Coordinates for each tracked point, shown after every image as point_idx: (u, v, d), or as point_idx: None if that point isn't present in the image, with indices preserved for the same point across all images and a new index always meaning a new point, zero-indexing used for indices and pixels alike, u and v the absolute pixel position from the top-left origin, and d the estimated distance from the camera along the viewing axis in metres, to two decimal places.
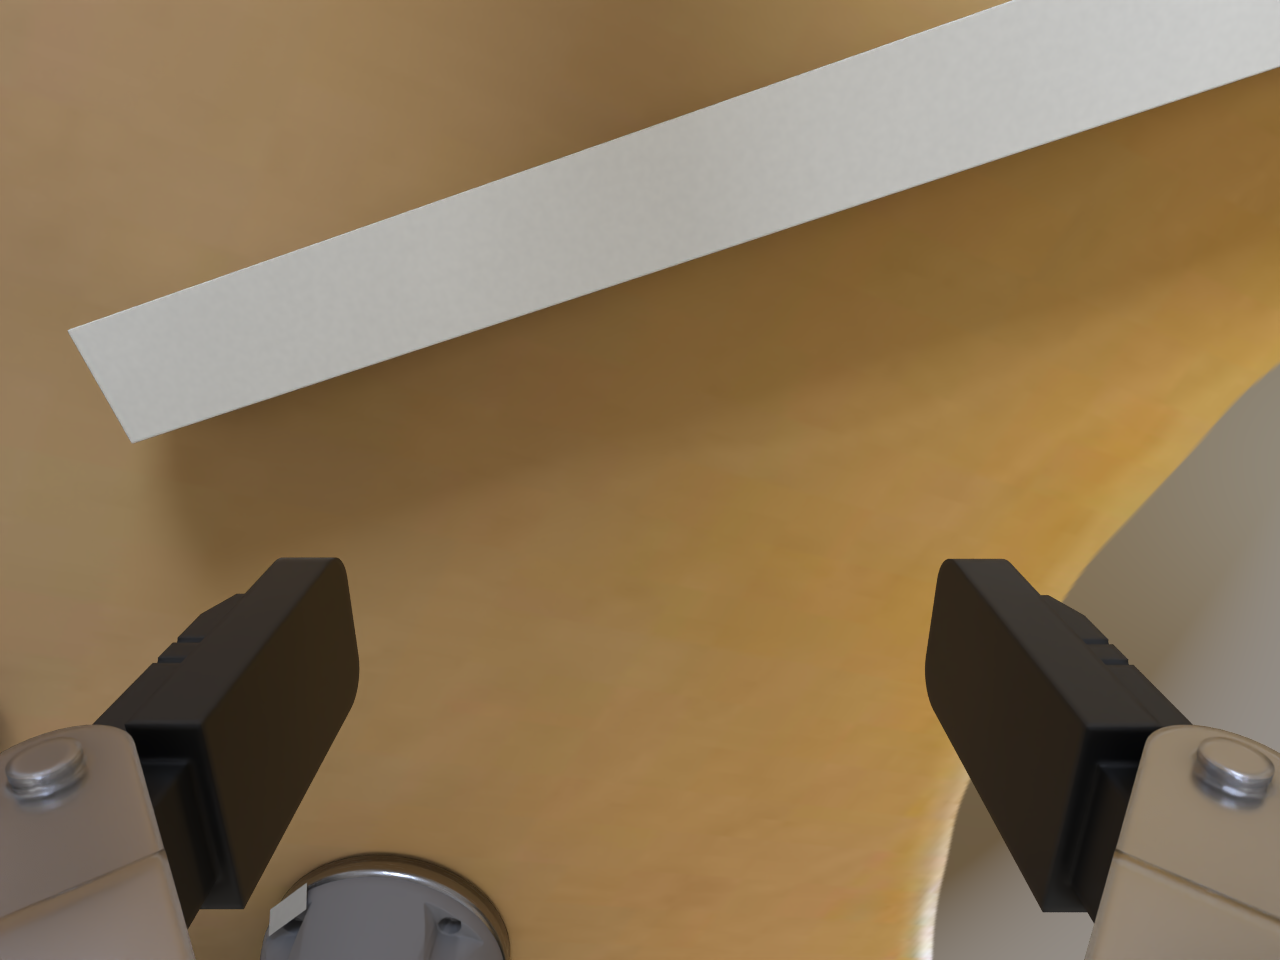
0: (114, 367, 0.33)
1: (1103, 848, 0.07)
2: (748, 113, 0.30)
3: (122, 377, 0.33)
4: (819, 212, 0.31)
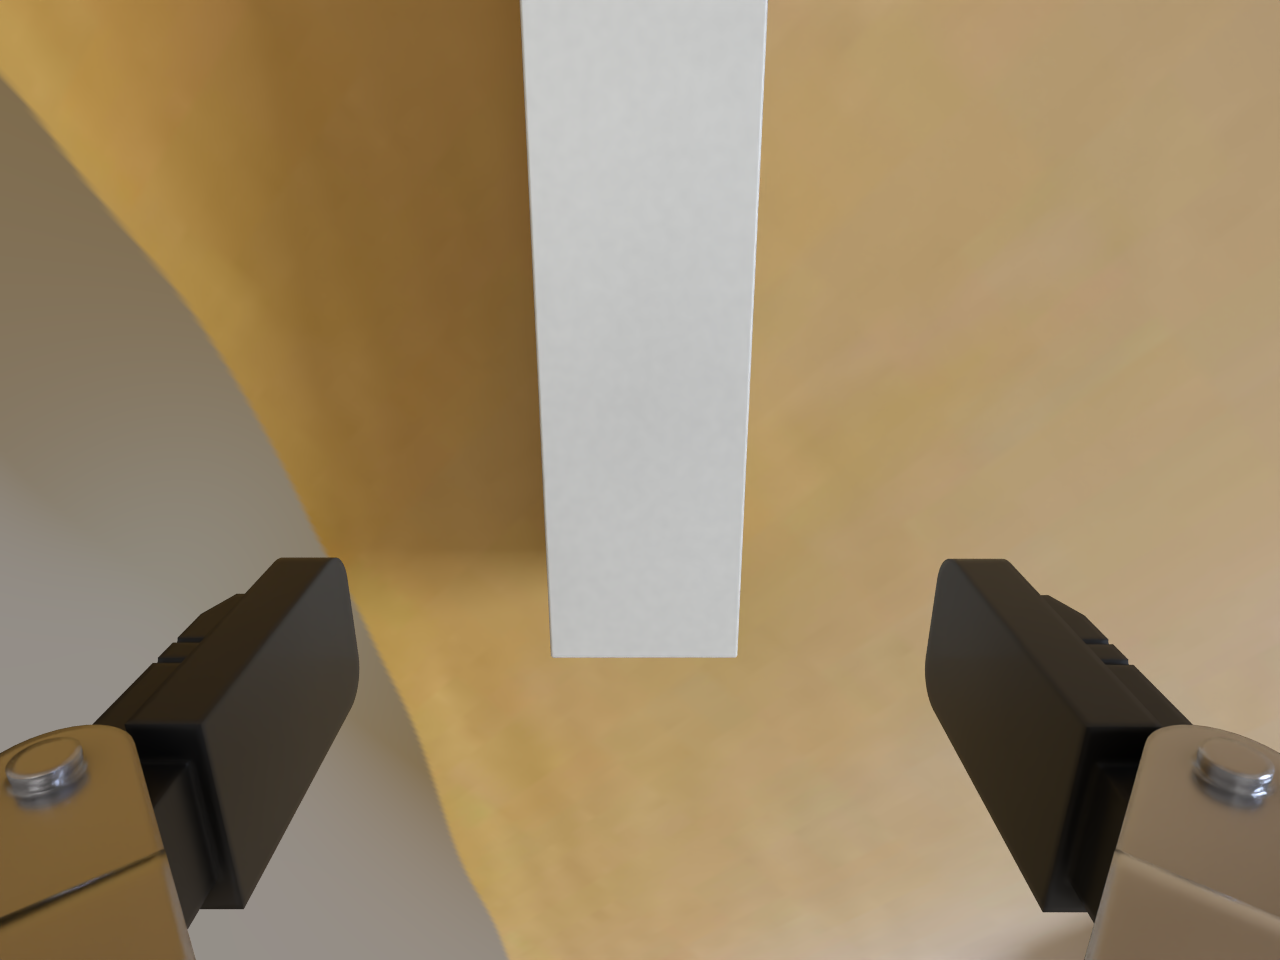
0: None
1: (1103, 848, 0.07)
2: None
3: None
4: None
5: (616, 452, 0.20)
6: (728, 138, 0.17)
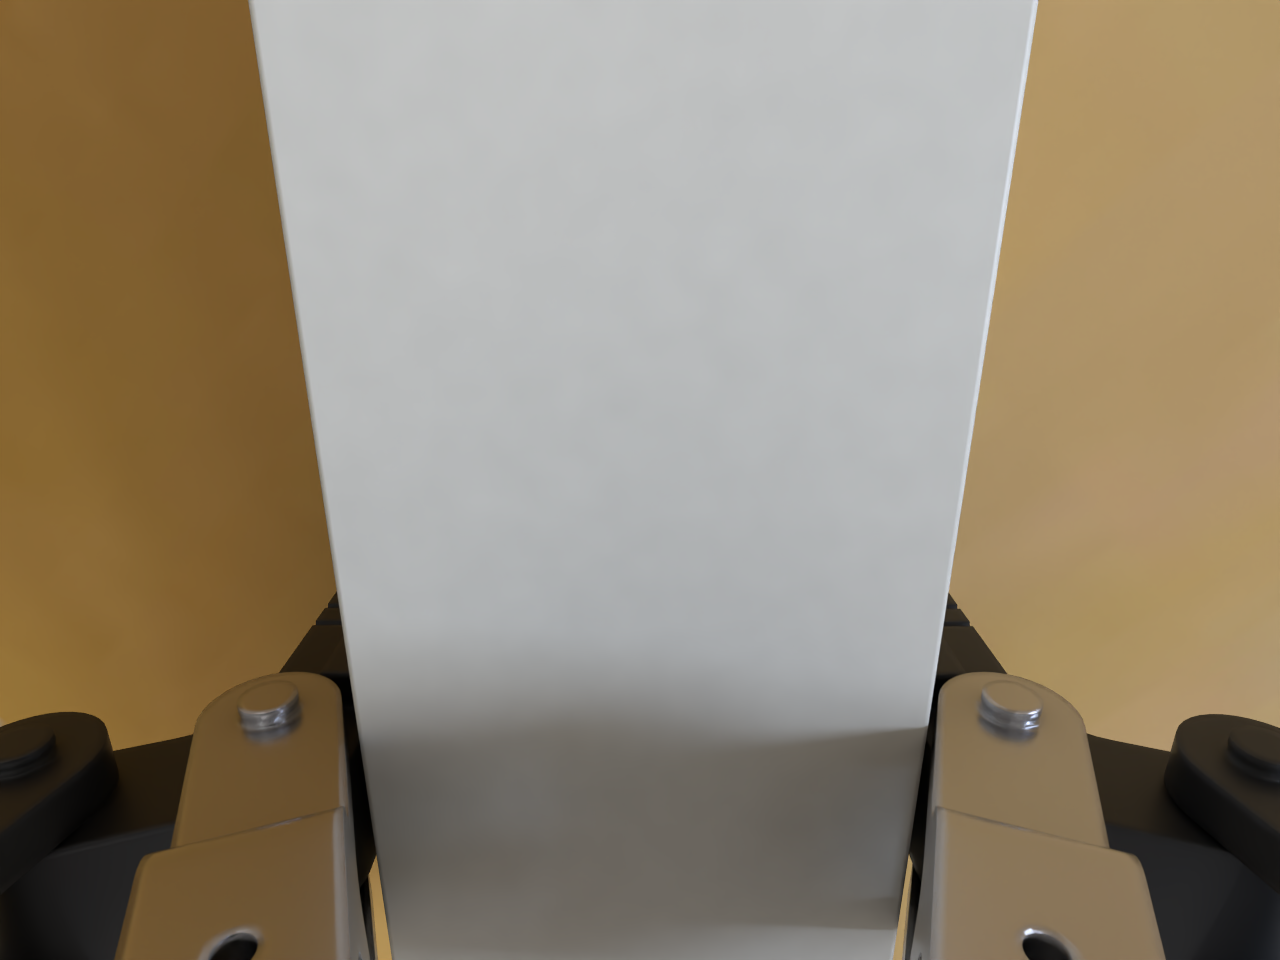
0: None
1: None
2: None
3: None
4: None
5: (571, 890, 0.08)
6: (922, 61, 0.05)
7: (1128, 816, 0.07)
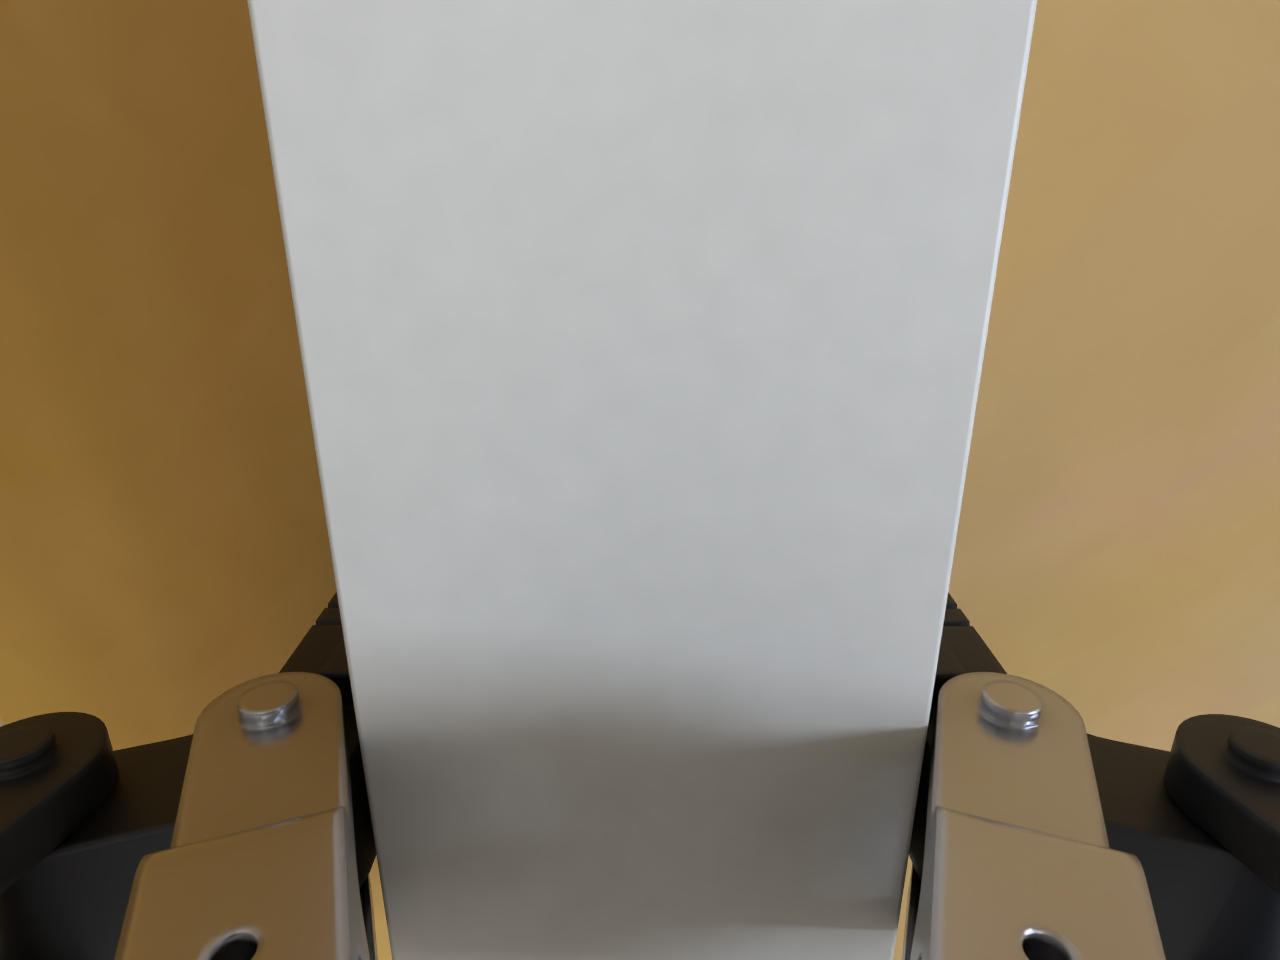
0: None
1: None
2: None
3: None
4: None
5: (570, 889, 0.08)
6: (922, 61, 0.05)
7: (1127, 816, 0.07)
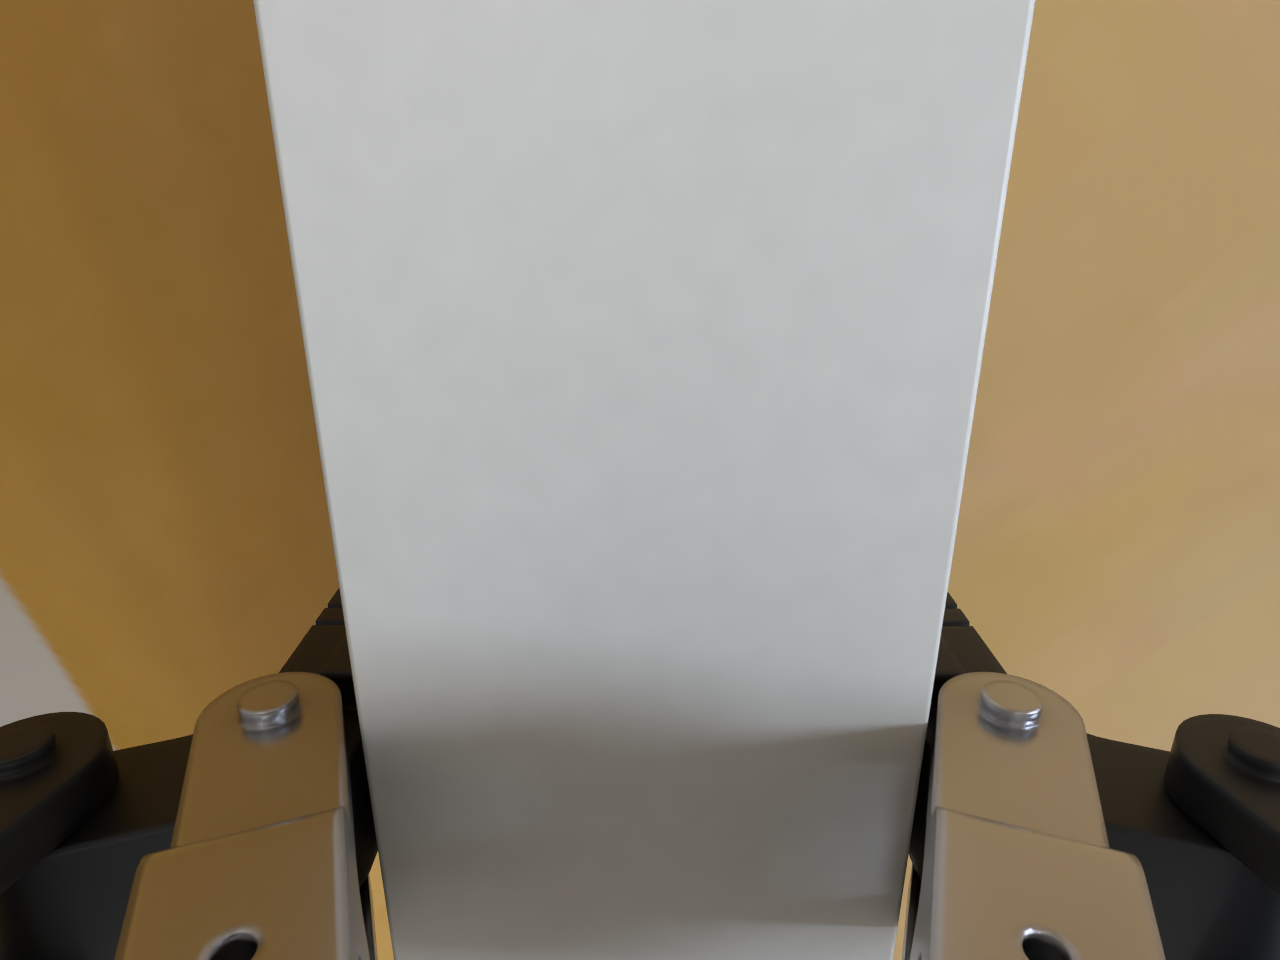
0: None
1: None
2: None
3: None
4: None
5: (572, 886, 0.08)
6: (921, 59, 0.05)
7: (1127, 816, 0.07)
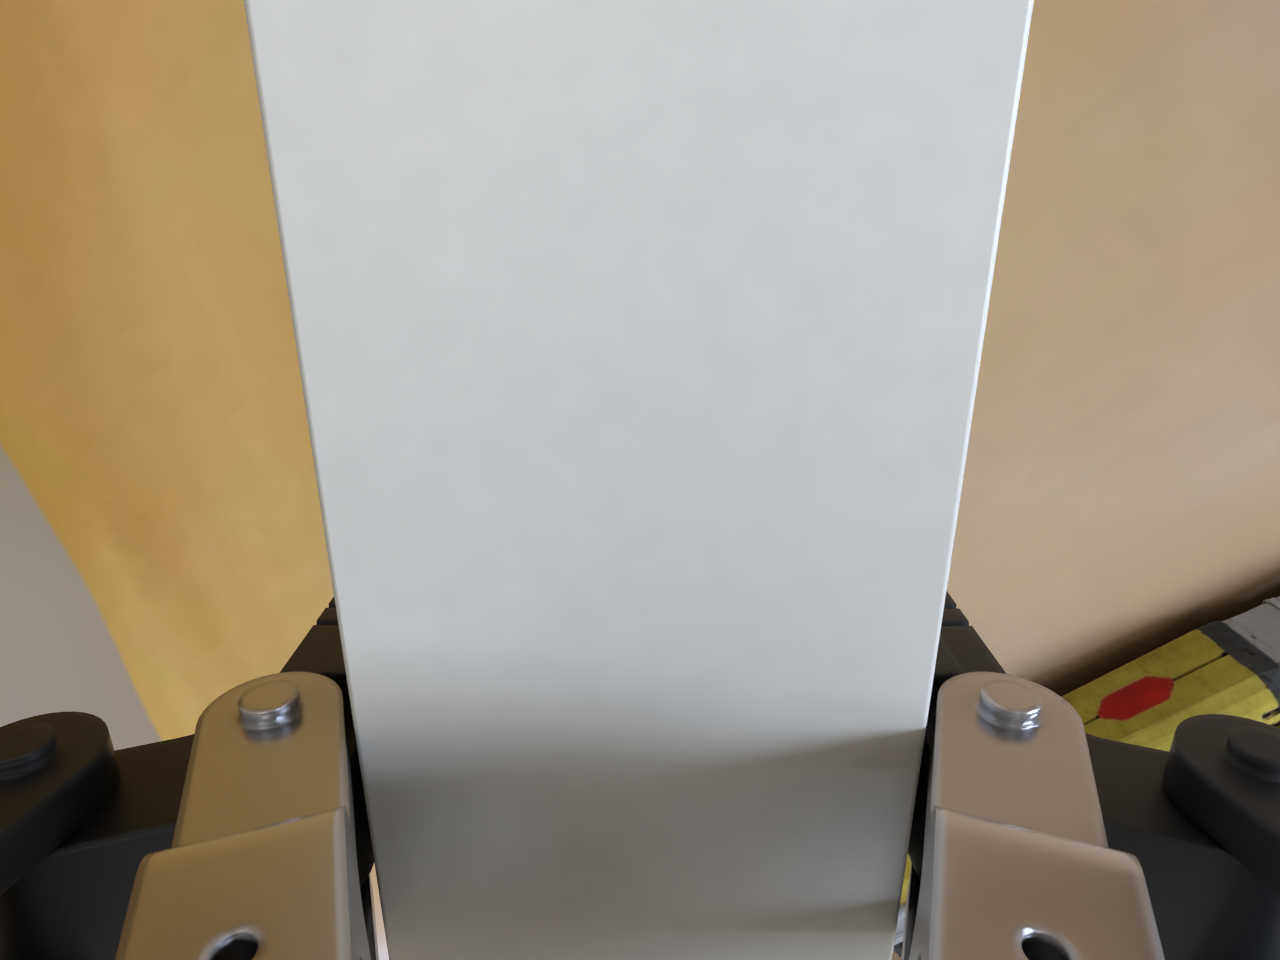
0: None
1: None
2: None
3: None
4: None
5: (568, 891, 0.08)
6: (919, 61, 0.05)
7: (1126, 816, 0.07)
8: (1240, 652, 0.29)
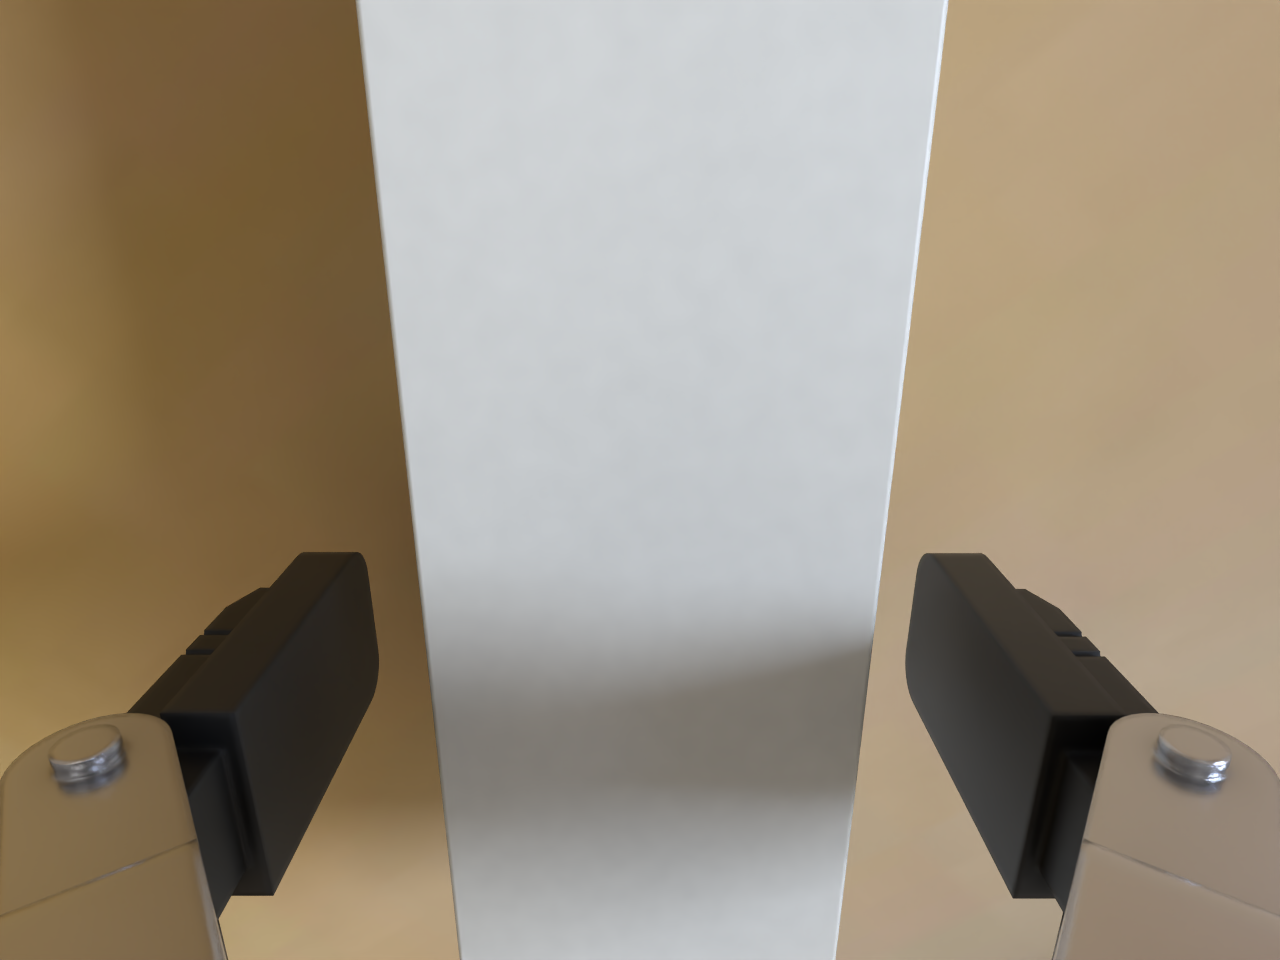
0: None
1: (1069, 835, 0.07)
2: None
3: None
4: None
5: (591, 773, 0.10)
6: (856, 129, 0.07)
7: None
8: None
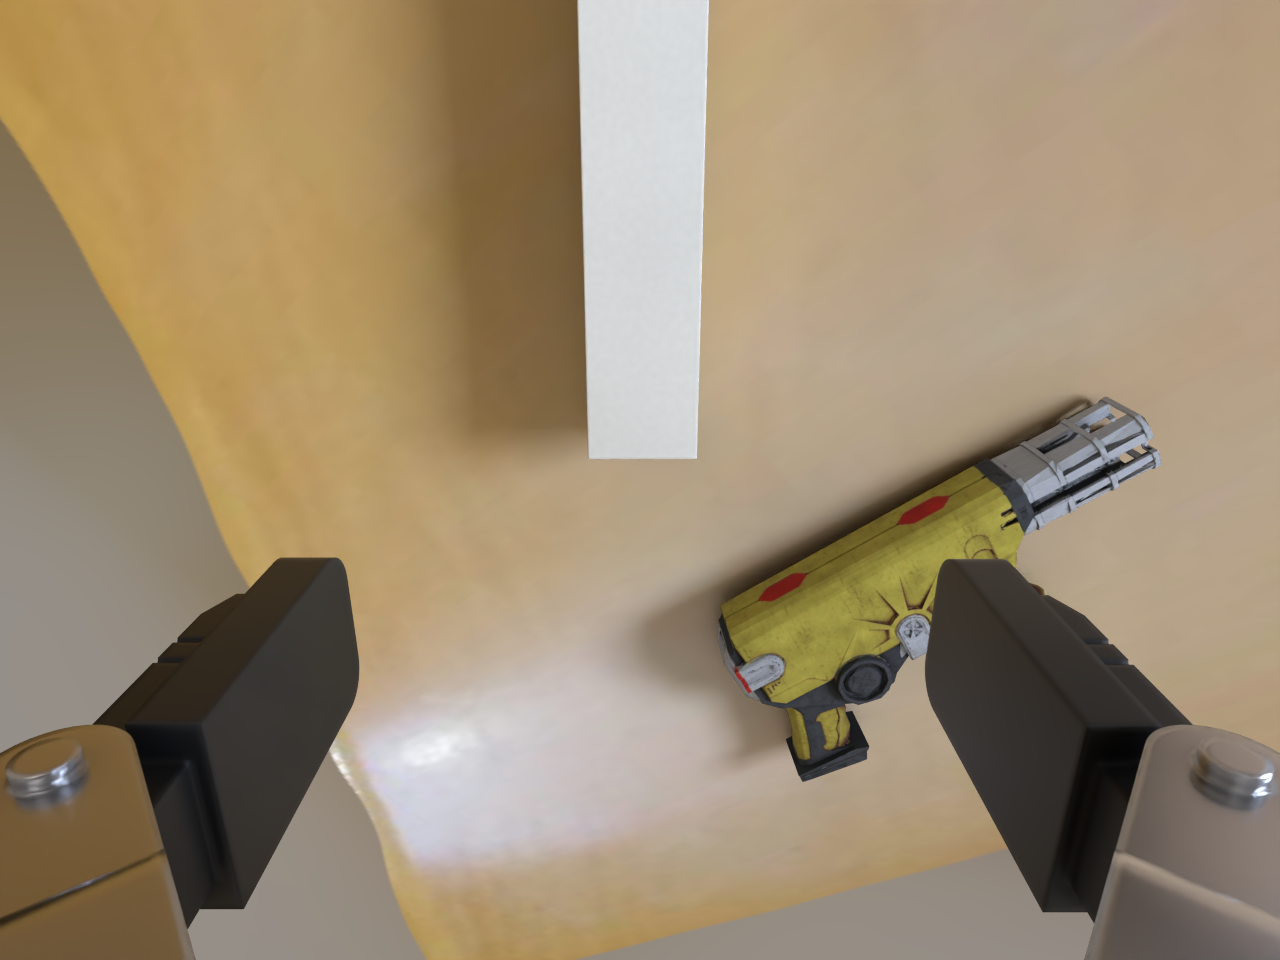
0: None
1: (1103, 848, 0.07)
2: None
3: None
4: None
5: (627, 333, 0.35)
6: (687, 158, 0.33)
7: None
8: (993, 475, 0.42)
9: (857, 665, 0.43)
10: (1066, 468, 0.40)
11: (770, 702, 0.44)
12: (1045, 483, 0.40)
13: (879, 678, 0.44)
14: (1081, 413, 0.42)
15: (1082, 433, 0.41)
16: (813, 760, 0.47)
